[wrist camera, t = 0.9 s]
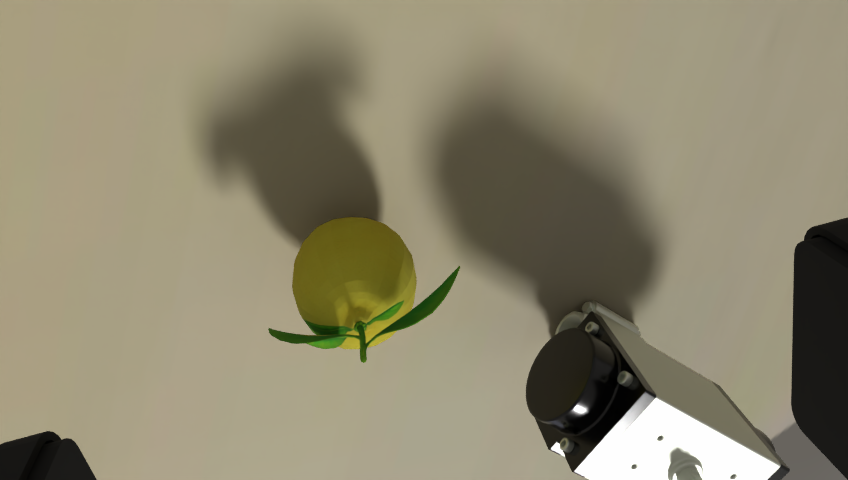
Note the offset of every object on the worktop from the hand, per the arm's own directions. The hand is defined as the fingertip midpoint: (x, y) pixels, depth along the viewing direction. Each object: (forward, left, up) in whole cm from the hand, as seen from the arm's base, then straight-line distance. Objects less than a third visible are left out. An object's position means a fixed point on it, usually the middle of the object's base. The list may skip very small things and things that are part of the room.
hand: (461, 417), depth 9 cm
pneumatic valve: (+3, +20, -26) cm, 33 cm away
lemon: (+7, +6, -26) cm, 27 cm away
